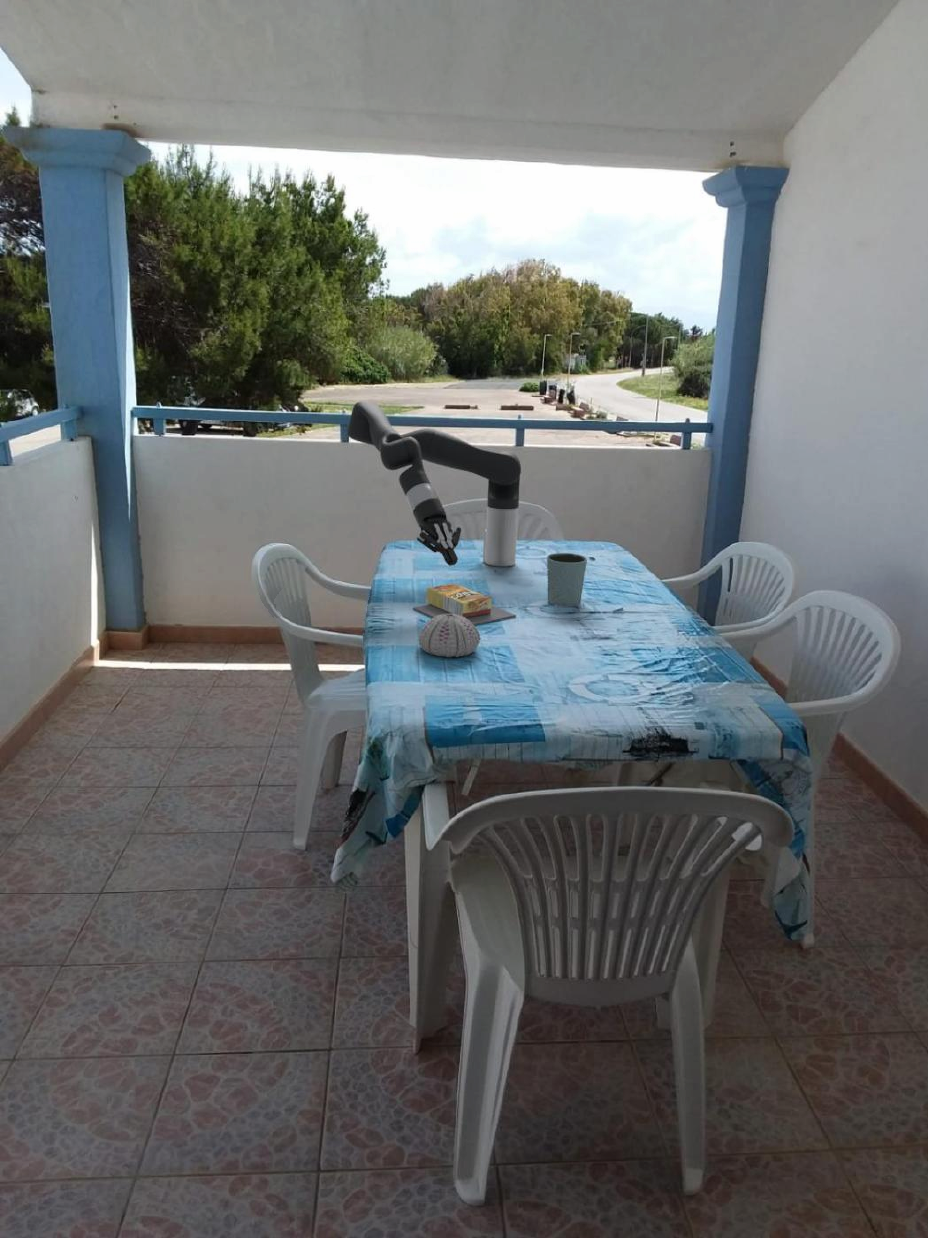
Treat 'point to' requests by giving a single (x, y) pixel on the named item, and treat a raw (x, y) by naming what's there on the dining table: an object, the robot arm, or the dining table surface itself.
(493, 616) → the mat
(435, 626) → the sea urchin shell
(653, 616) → the dining table surface
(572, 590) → the green cup
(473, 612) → the candy box
